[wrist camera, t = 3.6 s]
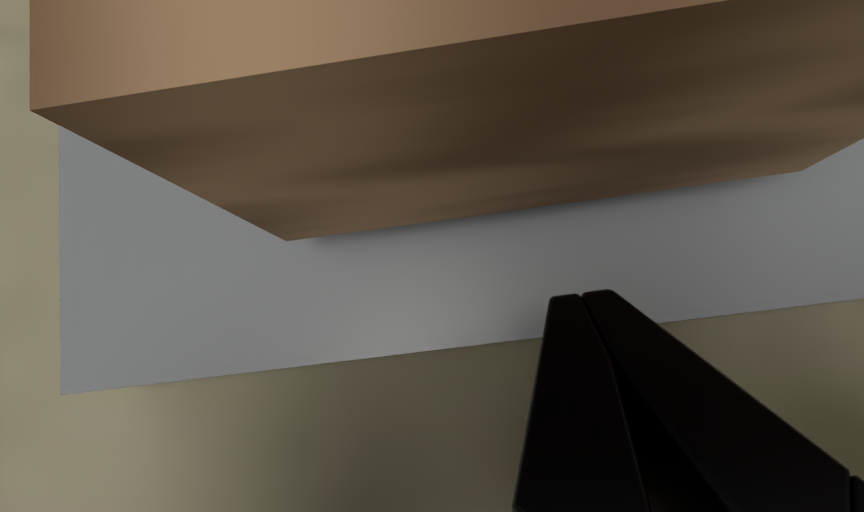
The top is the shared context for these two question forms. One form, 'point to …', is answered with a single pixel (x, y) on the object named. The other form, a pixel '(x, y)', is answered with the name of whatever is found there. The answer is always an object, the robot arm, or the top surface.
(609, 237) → the deck
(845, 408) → the top surface
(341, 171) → the plunger
